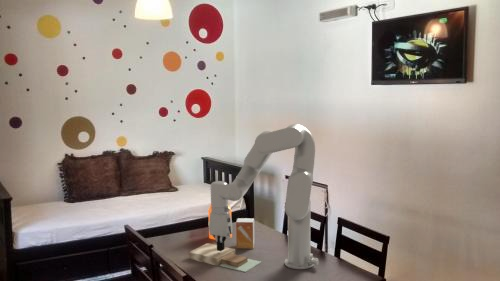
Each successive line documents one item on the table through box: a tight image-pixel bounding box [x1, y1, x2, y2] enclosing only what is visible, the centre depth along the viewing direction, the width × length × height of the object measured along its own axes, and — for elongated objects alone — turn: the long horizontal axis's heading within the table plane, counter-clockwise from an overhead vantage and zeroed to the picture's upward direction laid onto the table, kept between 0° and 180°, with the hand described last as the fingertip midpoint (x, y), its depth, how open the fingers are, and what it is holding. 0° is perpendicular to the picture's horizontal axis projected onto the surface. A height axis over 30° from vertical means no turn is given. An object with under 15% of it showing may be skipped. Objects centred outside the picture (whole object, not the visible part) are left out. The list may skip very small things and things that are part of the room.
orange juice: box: [207, 204, 233, 241], centre depth 236 cm, size 8×9×20 cm
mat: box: [219, 258, 262, 273], centre depth 203 cm, size 14×12×1 cm
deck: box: [188, 242, 237, 267], centre depth 211 cm, size 16×13×3 cm
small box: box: [235, 217, 255, 250], centre depth 223 cm, size 8×6×13 cm
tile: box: [221, 254, 249, 267], centre depth 204 cm, size 9×7×2 cm
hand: (220, 249), depth 208 cm, fingers closed
